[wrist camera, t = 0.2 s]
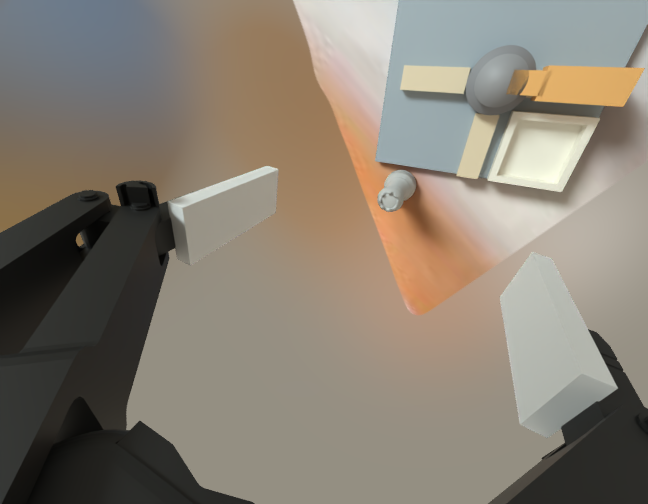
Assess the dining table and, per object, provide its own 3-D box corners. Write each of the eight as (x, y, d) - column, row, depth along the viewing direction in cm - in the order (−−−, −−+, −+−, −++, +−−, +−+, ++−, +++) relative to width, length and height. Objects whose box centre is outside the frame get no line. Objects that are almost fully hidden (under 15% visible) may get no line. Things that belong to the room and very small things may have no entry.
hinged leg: (468, 104, 30) (468, 105, 28) (482, 55, 28) (483, 53, 26) (606, 115, 26) (617, 116, 24) (637, 58, 24) (651, 56, 22)
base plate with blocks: (406, -34, 29) (399, -48, 26) (683, -58, 22) (715, -80, 19) (377, 159, 40) (370, 164, 37) (558, 186, 32) (566, 196, 30)
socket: (511, 110, 30) (513, 111, 29) (594, 117, 28) (600, 118, 26) (487, 177, 34) (487, 180, 33) (558, 188, 31) (561, 192, 30)
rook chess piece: (411, 203, 40) (401, 223, 34) (382, 194, 42) (367, 213, 35) (421, 173, 38) (412, 189, 32) (390, 165, 39) (375, 179, 33)
